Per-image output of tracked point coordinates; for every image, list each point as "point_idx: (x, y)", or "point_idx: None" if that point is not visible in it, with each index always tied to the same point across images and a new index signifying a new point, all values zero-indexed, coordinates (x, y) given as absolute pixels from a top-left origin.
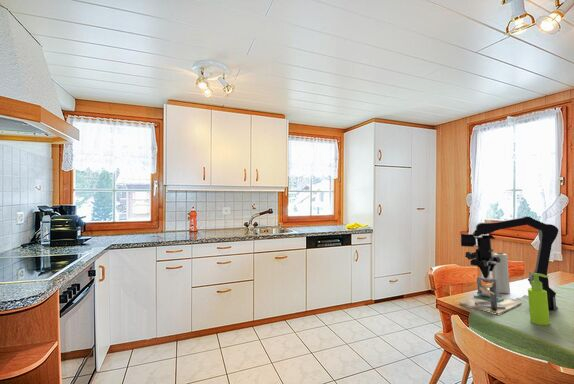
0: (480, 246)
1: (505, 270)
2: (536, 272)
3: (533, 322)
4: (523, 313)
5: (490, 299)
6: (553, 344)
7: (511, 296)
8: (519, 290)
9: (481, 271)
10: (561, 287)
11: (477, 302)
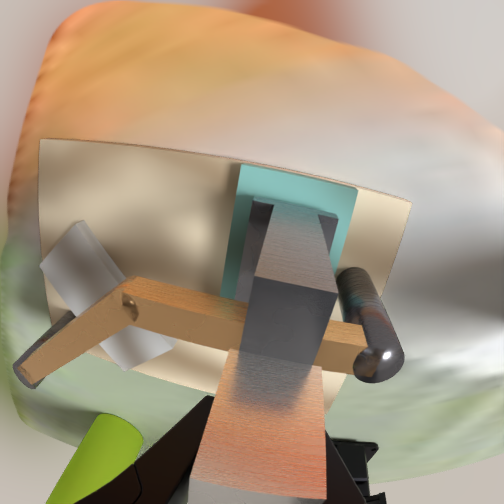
0: None
1: None
2: None
3: (97, 416)
4: (172, 408)
5: (37, 341)
6: (20, 412)
7: (474, 344)
8: None
9: (130, 466)
10: None
11: (74, 243)
